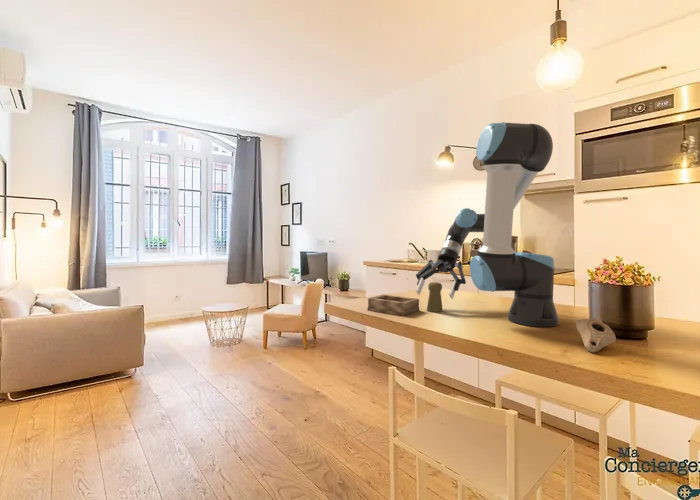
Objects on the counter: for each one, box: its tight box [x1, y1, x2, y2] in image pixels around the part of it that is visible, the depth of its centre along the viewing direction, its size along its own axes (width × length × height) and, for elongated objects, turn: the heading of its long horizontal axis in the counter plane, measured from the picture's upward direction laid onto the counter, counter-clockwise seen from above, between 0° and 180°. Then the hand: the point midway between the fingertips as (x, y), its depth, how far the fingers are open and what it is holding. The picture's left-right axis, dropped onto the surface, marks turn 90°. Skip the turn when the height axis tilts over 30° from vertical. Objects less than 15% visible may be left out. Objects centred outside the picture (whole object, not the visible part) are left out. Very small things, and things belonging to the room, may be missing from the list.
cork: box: [426, 281, 444, 314], centre depth 135 cm, size 6×6×11 cm
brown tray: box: [367, 293, 420, 317], centre depth 135 cm, size 16×12×4 cm
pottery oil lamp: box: [575, 317, 617, 353], centre depth 92 cm, size 9×12×7 cm
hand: (433, 294), depth 135 cm, fingers open, 13 cm apart
